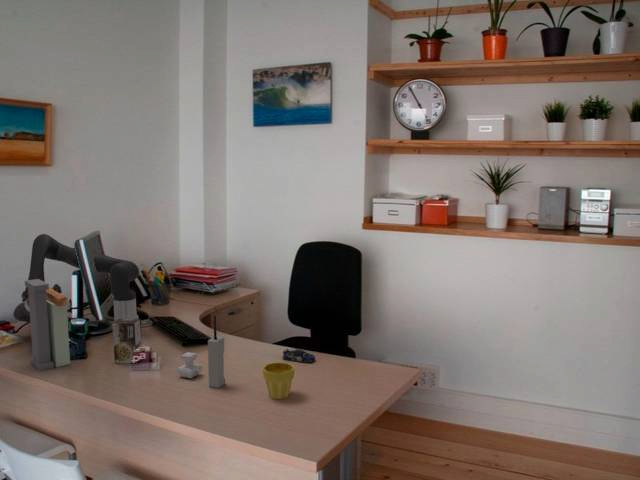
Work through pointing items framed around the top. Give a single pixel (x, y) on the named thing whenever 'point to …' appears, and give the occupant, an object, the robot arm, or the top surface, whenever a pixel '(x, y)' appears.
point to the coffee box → (126, 339)
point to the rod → (56, 297)
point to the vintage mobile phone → (216, 360)
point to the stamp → (189, 366)
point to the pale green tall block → (58, 334)
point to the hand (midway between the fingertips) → (45, 287)
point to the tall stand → (39, 324)
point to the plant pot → (278, 379)
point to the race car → (298, 356)
